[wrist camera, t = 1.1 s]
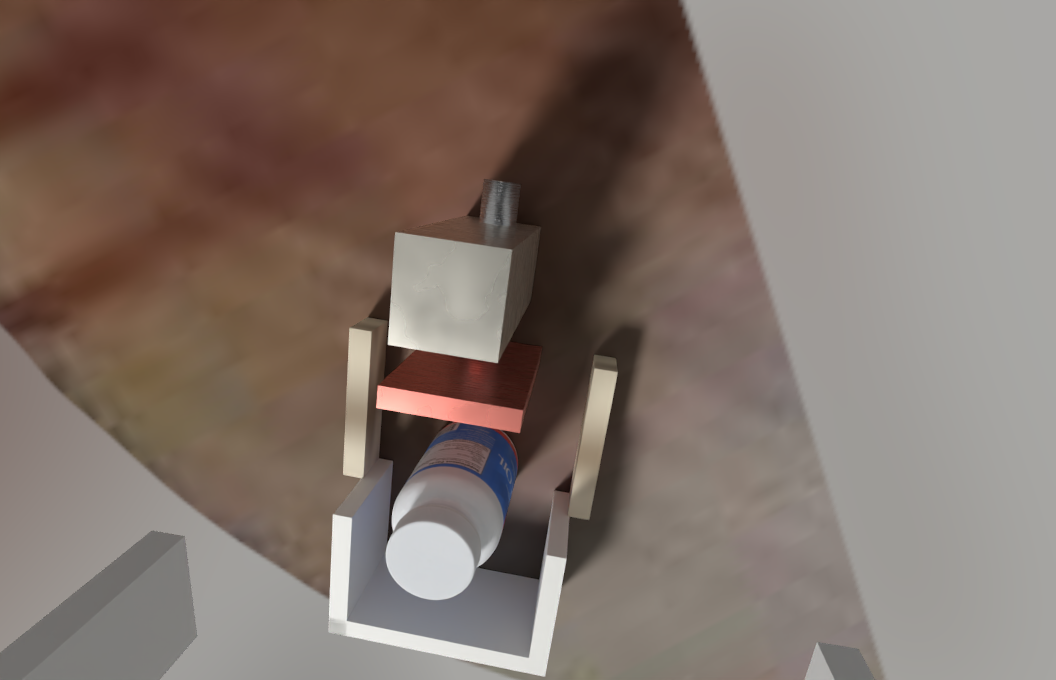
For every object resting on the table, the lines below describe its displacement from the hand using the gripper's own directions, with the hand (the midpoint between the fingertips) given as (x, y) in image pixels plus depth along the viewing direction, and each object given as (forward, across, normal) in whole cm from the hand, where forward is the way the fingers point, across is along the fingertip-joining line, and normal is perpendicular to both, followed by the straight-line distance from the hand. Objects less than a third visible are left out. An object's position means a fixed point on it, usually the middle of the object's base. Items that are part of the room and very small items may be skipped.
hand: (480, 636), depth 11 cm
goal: (+20, -4, -12) cm, 24 cm away
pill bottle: (+20, -4, -8) cm, 22 cm away
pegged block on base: (+20, -4, +4) cm, 21 cm away
